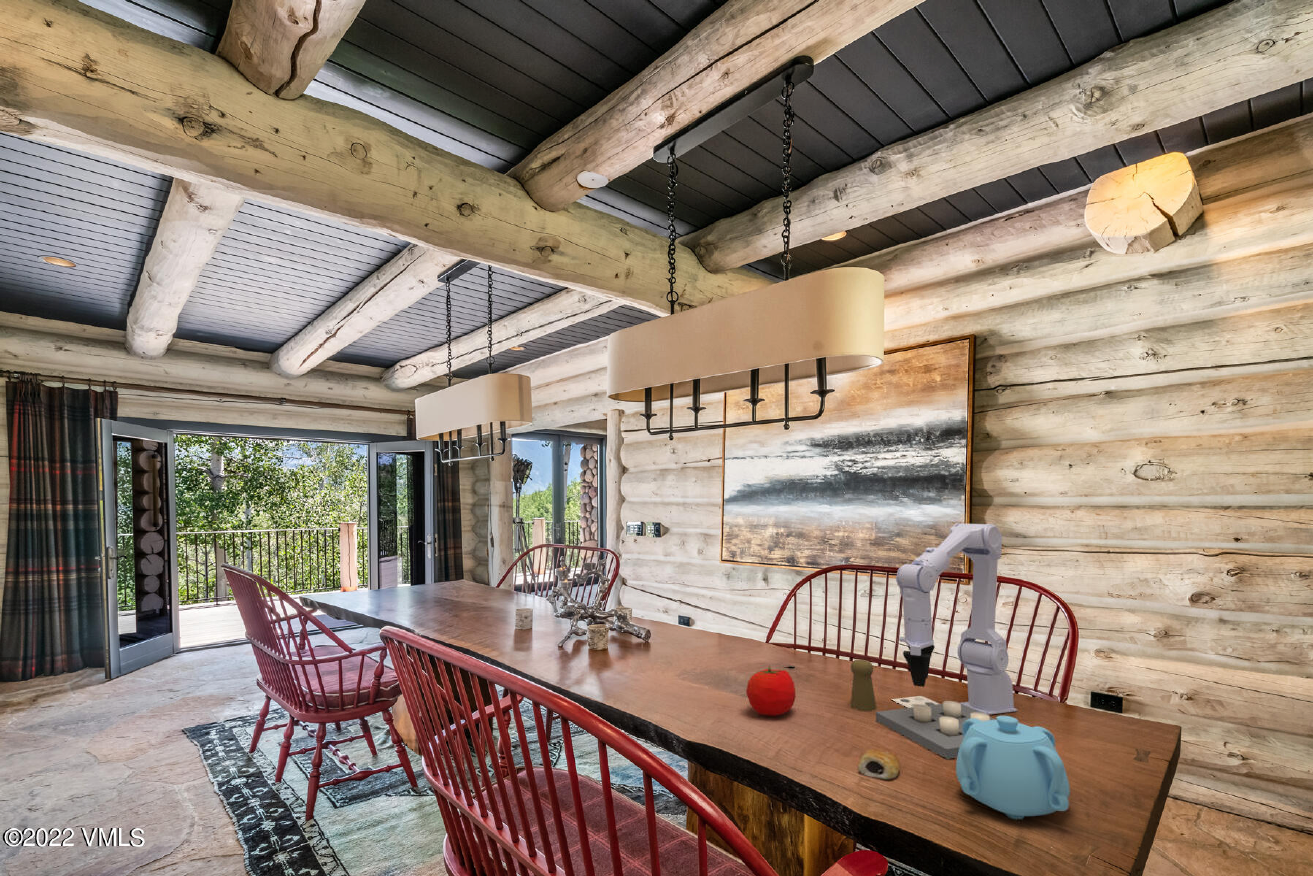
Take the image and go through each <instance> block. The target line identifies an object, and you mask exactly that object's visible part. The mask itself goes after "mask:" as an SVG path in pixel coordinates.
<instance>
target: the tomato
mask: <svg viewBox="0 0 1313 876" xmlns="http://www.w3.org/2000/svg"><path fill="white" fill-rule="evenodd" d="M745 693H746V695H747V699H748V702H749V705H750V706H751V708H752V709H753V710H754V712H756V713H758V714H759V715H762V716H770V717H776V716H780V715H783V714H787V712H789V711H790V710H792V707H793V706H794V704H795V700H796V687H795V681H794V680H793V678H792V676H791V675H790V673H789V672H788V671H786V670H785V669H771V666H770V665H769V666H768V668H765V669H763V670H760V671H758V672H755V673H753V675H751V677H750V678H749V680H748V682H747V686H746V691H745Z"/></svg>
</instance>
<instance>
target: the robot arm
mask: <svg viewBox="0 0 1313 876" xmlns="http://www.w3.org/2000/svg"><path fill="white" fill-rule="evenodd" d="M1002 535H1003V534H1002V533H1001V531H1000V530H999V528H998V526H997V525H996V524H993V523H987V524H985V523H984V524H983V523H962V522H957V523H955V524H954V525H953V526H951V527H950V528H949V534H948V536H947V537H946V538H945V539H944V540H943V541H942V542H941V543H940V544H939V545H938V546H937V547H934V546H931V547H929V546H928V547H926V548H925V549H924V552H923V553H922V554H921V555H919V556H918V557H916V558H915V559H914V560H913V561H912V562H911V563H910V564H909V563H904V564H903V565H902V566H900V567H899V568H898V569H897V573H896V577H895V581H896V583H897V587H898V588H899V595H900V596H901V597H902V606H903V625H904V627H903V628H904V636H899V638H898V640H899V642H903V643H905V644H906V645H907V648H908V650H903V652H902V656H903V658H904V659H905V662H906V664H907V665H908V668H909V672H910V676H911V680H912V683H913V686H914V687H924V688H925V686H926V685H925V684H926V682H927V681H926V680H927V679H928V677H929V671H930V670H929V669H930V663H931V658H932V656H933V655H932V654H933V652H934V650H935V642H934V639H933V624H932V623H933V622H932V605H931V591H933V590H934V588H935V586H936V581H938V578H939V576H940V575H941V574H943V572H945V571H946V570H947V569H948V568H949V566H950V560H951V559H952V558H953V557H955V556H956V555H958V554H959V553H960V552H961V553H962V554H963V555H964V556H966V557H967V558H969V559H970V560H971V561H972V562H973V575H972V592H971V593H972V595H971V596H972V597H971V598H972V599H971V611H970V612H971V616H970V627H969V628H968V627H967V629H966V630H964V631H962V632H961V634H960V640H959V644H958V646H957V649H956V650H957V657H958V660H959V662H960V663H961V664H962V665H963V668H964V669H965V670H966V677H967V678H966V679H967V694H968V697H967V698H968V701H964V702H963V701H962V702H959V703H960V704H961V705H963V706H965V707H968V708H970V709H972V710H975V711H977V712H980V713H984V714H987V715H989V716H990V715H996V714H1003V713H1004V714H1006V713H1010V712H1011V713H1012V712H1017V711H1018V709H1017V708H1015V706H1014V705H1015V704H1014V703H1015V701H1014V691H1013V690H1014V689H1013V687H1014V686H1013V681H1012V678H1011V677H1010V675H1009V673H1008V672H1007V671H1006V669H1007V667H1008V665H1009V661H1010V659H1009V654H1008V650H1007V641H1006V639H1004V637H1003V636H1002V635H1000V634H999V633H998V632H997V631H996V610H997V609H996V608H997V607H996V606H997V582H998V581H997V580H998V560H1000V559H1001V558H1002V545H1003V536H1002ZM982 641H983V642H982Z"/></svg>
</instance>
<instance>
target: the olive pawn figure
mask: <svg viewBox="0 0 1313 876" xmlns="http://www.w3.org/2000/svg"><path fill="white" fill-rule="evenodd" d="M850 671H851V672H852V675H853V676H852V687H851V688H852V689H851V698H850V707H852V708H851V709H853V708H855V709H857V710H856V711H859V710H860V712H873V711H872V710H874V711H876V710H877V709H876V708H877V704H876V697H875V691H874V690H875V689H874V686H873V680H872V675H873V672H874V666H873V663H871V661H869V660H866V659H854V660H853V661H852V662H851V664H850ZM855 709H854V710H855ZM875 709H876V710H875Z"/></svg>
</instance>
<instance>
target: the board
mask: <svg viewBox="0 0 1313 876" xmlns="http://www.w3.org/2000/svg"><path fill="white" fill-rule="evenodd" d="M928 706H929V707H931V717H932V722H928V723H920V722H918V721H916V720H914V711H913V707H912V708H906V707H904V708H898V709H889V710H880V711H875V721H876V722H877V723H879V722H880V723H879V724H881V725H882V724H883V725H882V726H884V725H885V726H884V727H886V726H887V727H886V728H888V727H889V728H888V729H889V730H891V729H892V730H891V731H893V730H894V731H893V732H895V731H896V733H897V734H899V733H900V734H899V735H900V736H902V735H904V736H905V737H904V736H903V737H904V738H906V737H907V738H906V739H908V738H909V739H908V740H910V739H911V740H910V741H912V742H913V741H915V742H916V743H915V742H914V743H915V744H917V743H919V744H920V745H919V744H918V745H919V746H921V745H922V746H921V747H923V746H924V747H926V748H927V749H926V748H925V749H926V750H928V749H930V750H931V751H930V750H929V751H930V752H932V751H933V752H932V753H934V752H935V753H937V754H939V755H941V756H942V757H941V756H940V757H941V758H943V757H945V758H946V759H950V758H955V757H957V756H958V752H959V748H960V746H961V743H962V741H963V739H964V737H963V732H962V725H963V723H964V722H965V721H966V720H968V719H971V715H970V714H971V713H974V712H977V711H975V710H972V709H970V708H968V707H965V706H963V705H961V716H962V718H958V722H959V735H958V736H951V737H948V736H946V735H944V734H942V733H940V721H939V718H940V717H943V716H944V710H943V703H939V704H936V705H928ZM978 713H980V712H978ZM990 720H996V718H994V717H991V716H990ZM924 747H923V748H924ZM935 753H934V754H935ZM937 754H936V755H937ZM939 755H938V756H939ZM945 758H944V759H945ZM946 759H945V760H946ZM950 760H951V759H950Z"/></svg>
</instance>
